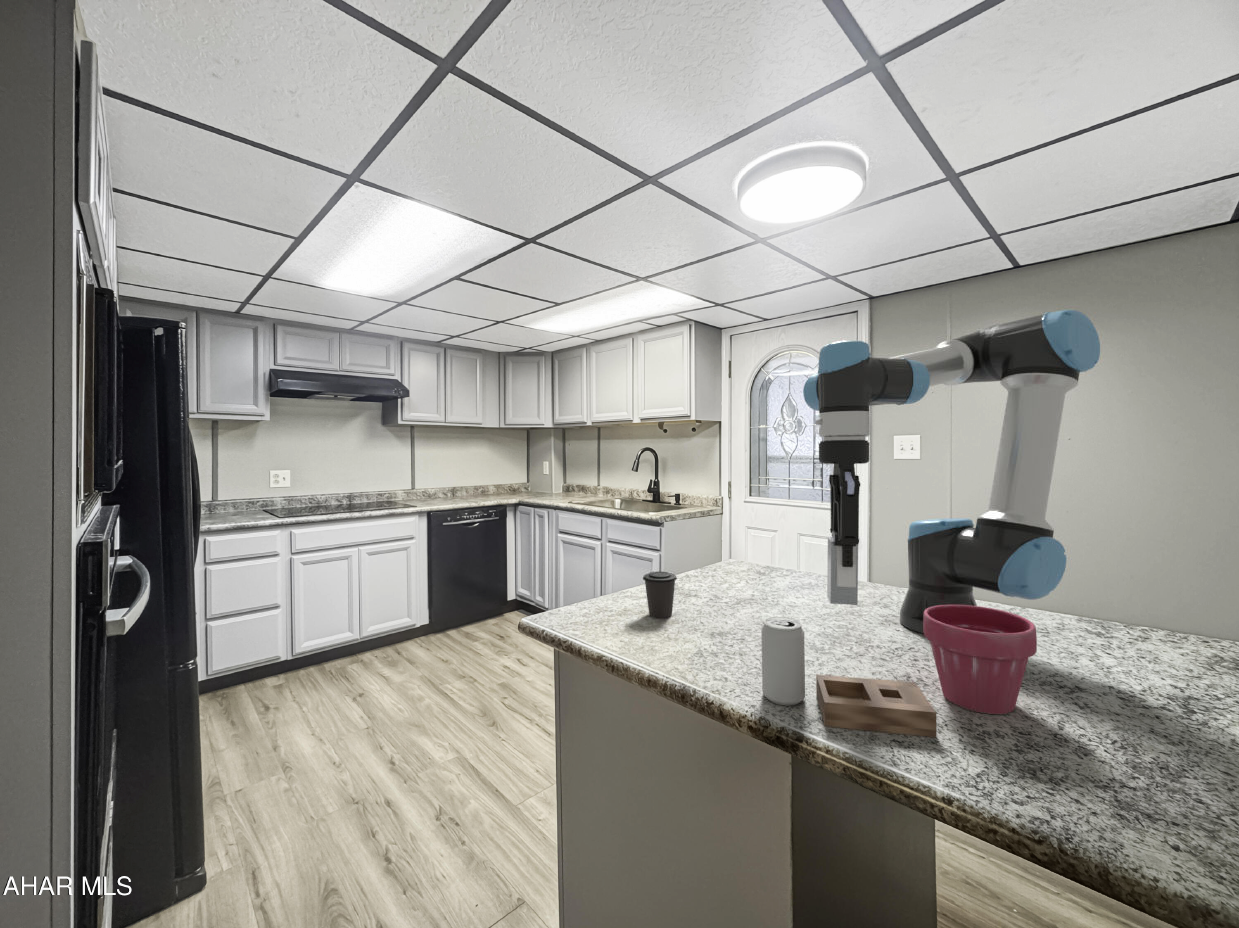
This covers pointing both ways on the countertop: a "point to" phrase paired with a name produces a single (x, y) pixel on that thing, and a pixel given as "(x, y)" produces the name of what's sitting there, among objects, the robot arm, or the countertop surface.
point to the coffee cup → (660, 593)
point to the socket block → (875, 705)
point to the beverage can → (783, 660)
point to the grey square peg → (833, 591)
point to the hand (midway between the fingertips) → (843, 582)
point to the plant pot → (980, 654)
